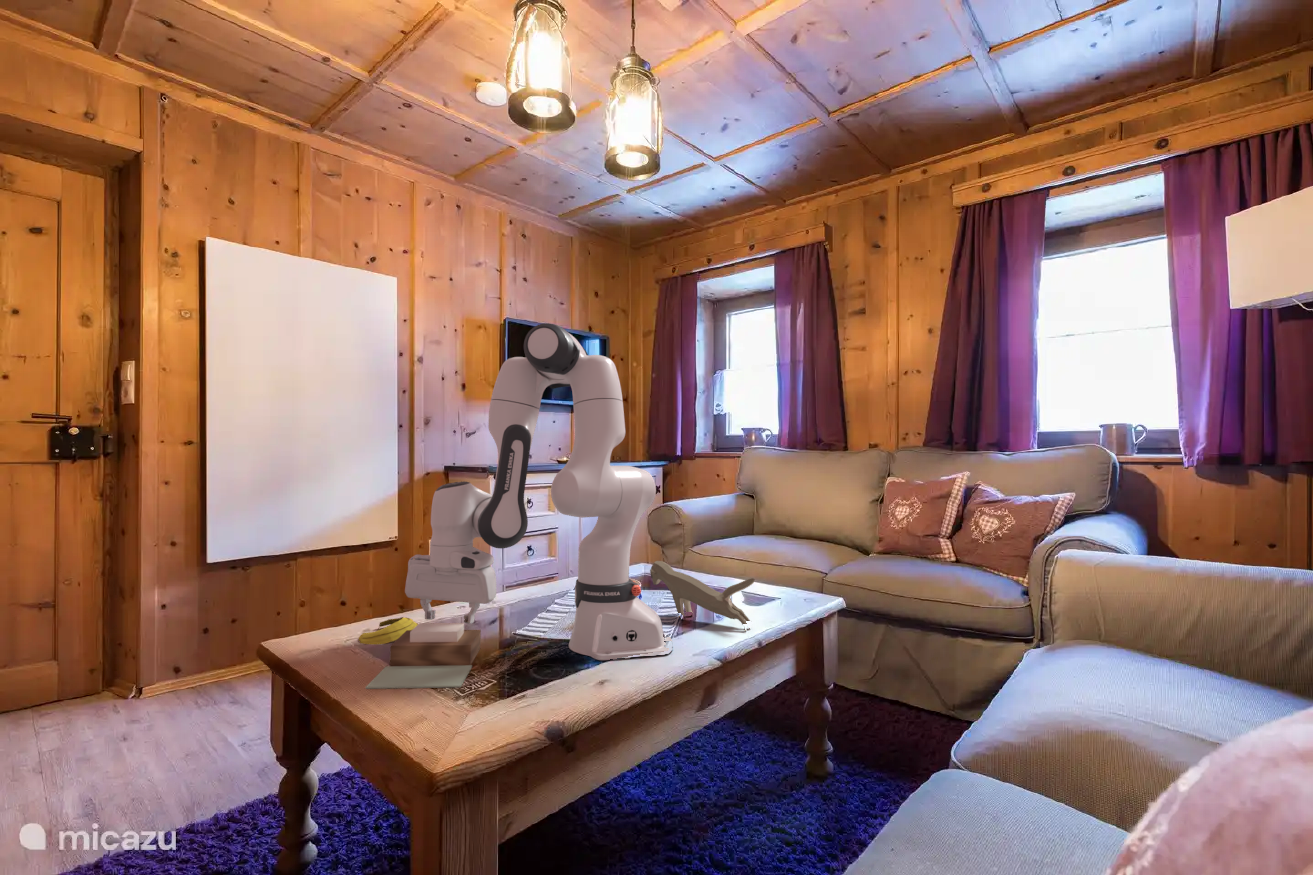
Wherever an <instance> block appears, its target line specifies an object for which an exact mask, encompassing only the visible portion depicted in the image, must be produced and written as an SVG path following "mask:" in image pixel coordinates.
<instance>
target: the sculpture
mask: <svg viewBox="0 0 1313 875" xmlns="http://www.w3.org/2000/svg"><path fill="white" fill-rule="evenodd" d="M649 574H650V578H651V580H652V584H653V586H658V585H659V584H660V583H661V582H663V583H664V584H665V586H666V587H667V588H668V590H669V592H670V593H671V595H672V599H673V602H674V606H675V609H676V612H678V613H681V614H682V615H683V616H685V613H686V612H692V613H693V611H692V606H691V603H693V604H695V605H697V606H699V607H700V608H703V609H705V610H707V611H709V612H712V613H714V614H716V615H720V616H722V617H725V618H728V619H731V620H738V621H739V622H740V623H741V625H743V624H747V623H746V621H751V620H750V619H749V617H748V616H747V615H746V613H745V612H744V611H743V609H741V608H739V607H738V606H736V605H735V604H734V603H733V601H732V598H731V596H732V595H734V594H736V593H738V592H741V591H742V590H745V589H748V588H749V587H750V586H752V585H753V584H754V583H755V580H756V579H755V578H754V577H750V578H747V579H745V580H743V581H741V582H738V583H736V584H732V585H730V586H727V588H725V590H723V591H722V592H720V591H717V590H715V589H714V588H712V587H710V586H709V585H708V584H705V583H704V582H702V580H699V579H697V578H695V577H693V576H691V575H689V574H686V573H684V572H680V571H678V570H677V571H676V570H674V569H673V567H672V566H671V565H670V564H668V563H666V562H665V561H663V560H656V561H654V562H653V564H652V565H651V568H650V570H649ZM684 610H685V611H684ZM678 613H677V614H678Z"/></svg>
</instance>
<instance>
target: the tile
mask: <svg viewBox="0 0 1313 875" xmlns="http://www.w3.org/2000/svg"><path fill="white" fill-rule="evenodd" d="M464 630H465V623H464V622H427V623H426V622H424V623H421V622H419V623H418V625H417V626H416V627H415V628H414V629H413V630H412V631H411V632H410V642H458V640H459V639H460V638H461V636H462V635H463V633H464Z"/></svg>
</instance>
